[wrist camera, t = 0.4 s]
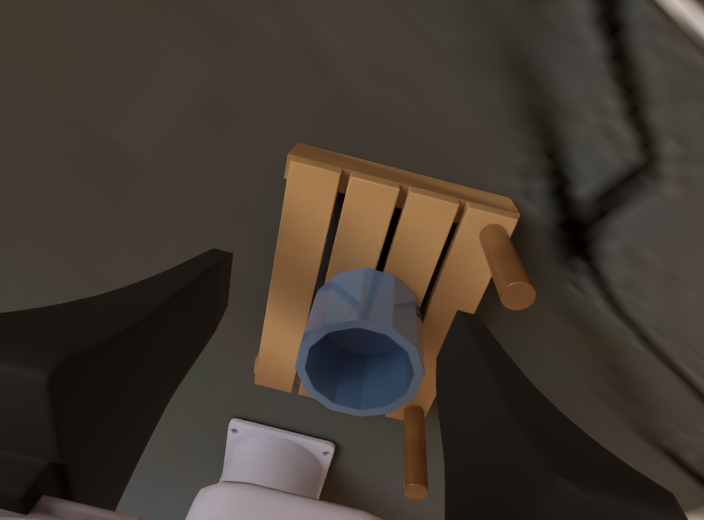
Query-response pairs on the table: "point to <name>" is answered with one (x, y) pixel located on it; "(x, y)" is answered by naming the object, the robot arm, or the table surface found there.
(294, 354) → the rack
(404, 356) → the blue faceted cup
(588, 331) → the table surface
